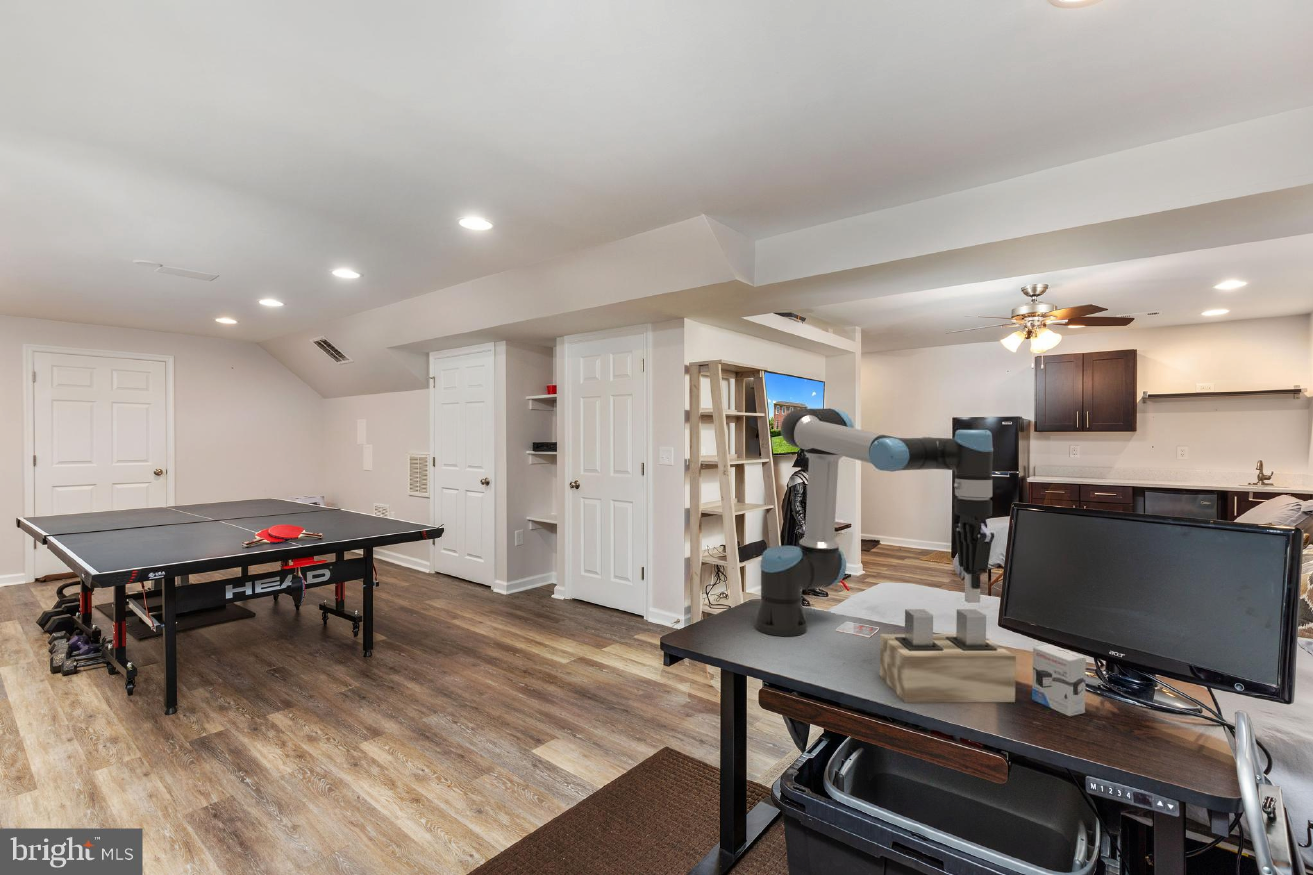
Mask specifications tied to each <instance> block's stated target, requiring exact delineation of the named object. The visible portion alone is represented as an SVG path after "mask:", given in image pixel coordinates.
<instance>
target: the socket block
mask: <svg viewBox="0 0 1313 875" xmlns="http://www.w3.org/2000/svg"><path fill="white" fill-rule="evenodd" d="M1016 661H1017V656H1016V655H1014V654H1013V653H1012V652H1010V651H1008V650H1007V649H1005V648H1003V647H1002V646H1000V645H999V644H997V643H995V642H994V641H993V640H991V639H989V638H987V637H986V647H964V646H963V645H961V644H960V643H958V642H957V641H956V633H933V647H911V646H909V645H908V644H907V643H906V642H905V633H880V634H879V677H881V679H882V680H883V681H884V682H885V683H886V685H888V686H889V687H890V688H891V689H892V690H893V691H894V693H896V694H897V696H898V697H899V698H900V699H901V700H902V701H903V702H904V703H906V704H907V703H908V704H909V703H913V704H914V703H915V704H916V703H1015V702H1016V671H1017V670H1016V669H1017V668H1016V664H1017V663H1016Z"/></svg>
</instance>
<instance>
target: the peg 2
mask: <svg viewBox="0 0 1313 875" xmlns="http://www.w3.org/2000/svg"><path fill="white" fill-rule="evenodd" d="M955 622H956V627H955V628H956V633H955V634H956V641H957V642H958V643H960V644H961V645H963V646H964V647H986V638H987V614H986V613H983V612H981V611H980V610H978V609H976V608H968V609H967V608H966V609H965V608H963V609H962V608H961V609H956V621H955Z"/></svg>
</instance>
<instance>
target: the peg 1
mask: <svg viewBox="0 0 1313 875" xmlns="http://www.w3.org/2000/svg"><path fill="white" fill-rule="evenodd" d="M904 634H905V642H906V643H907V644H908V645H909V646H911V647H933V634H934V614H932V613H930V612H929V611H928V610H926V609H924V608H922V609H920V608H919V609H918V608H917V609H916V608H913V609H912V608H911V609H908V608H906V609H904Z"/></svg>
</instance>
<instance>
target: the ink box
mask: <svg viewBox="0 0 1313 875" xmlns="http://www.w3.org/2000/svg"><path fill="white" fill-rule="evenodd" d="M1086 668H1087V658H1086V657H1084V656H1083V655H1080V654H1077V653H1075V652H1073V651H1069V650H1066V649H1063V648H1061V647H1058V646H1055V645H1053V644H1043V645H1040V646H1039V645H1037V646H1034V647H1032V685H1031V686H1032V687H1031V688H1032V692H1031V694H1032V695H1031V699H1032V701H1034V702H1037V703H1039V704H1041V705H1043V706H1045V707H1047V708H1049V709H1052V710H1054V711H1057V712H1058V713H1061V714H1063V715H1066V716H1068V717H1072V716H1077V715H1081V714H1085V713H1086V678H1087V677H1086V671H1087V669H1086Z"/></svg>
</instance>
